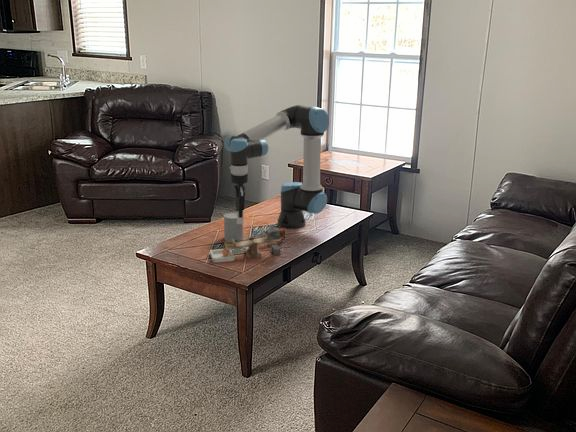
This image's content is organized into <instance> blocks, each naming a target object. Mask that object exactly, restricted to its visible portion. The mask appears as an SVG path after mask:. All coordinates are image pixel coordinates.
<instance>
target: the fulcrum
mask: <svg viewBox="0 0 576 432" xmlns="http://www.w3.org/2000/svg"><path fill="white" fill-rule="evenodd" d="M251 239H255V237H254V236H252V237H248V240H251ZM244 253H245V254H246V256H247V257H248V259H256V258H257V259H258V258H262V253H261V252H260V249H259V248H258V245H257V242H256V243H252V246H249V247H248V248H245V249H244Z"/></svg>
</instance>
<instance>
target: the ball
mask: <svg viewBox="0 0 576 432" xmlns="http://www.w3.org/2000/svg"><path fill="white" fill-rule="evenodd" d="M222 249H223V250H222V255H223V256H228V255H229V250H226V248H222Z"/></svg>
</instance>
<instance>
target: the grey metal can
mask: <svg viewBox="0 0 576 432" xmlns="http://www.w3.org/2000/svg"><path fill="white" fill-rule="evenodd" d="M223 229H224V230H223V231H224V232H223V234H224V239H223V240H225V242H228V241H232V239H234V241H235V243H236V242H242V241H244V223H243V224H237V212H233V211H232V212H227V213H225V214H223Z"/></svg>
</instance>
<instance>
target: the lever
mask: <svg viewBox="0 0 576 432" xmlns="http://www.w3.org/2000/svg"><path fill="white" fill-rule="evenodd" d="M278 229H279V228H277V227H273V228H266V230H267V237H266V236H265V237H260V238H254V239H251V240H249V239H248V240H241V241H238V242H235V241H234V239H232V241H224V247H225V248H224V249H226V250H231V251H233V250H236V249H237V250H238V249H242V248H249V246H252V243H256V242H257V246H259V245H265V244H269V243H271V244H272V243H277V241H278V242H281V241H282V239H281V238H280V234H279V230H278Z"/></svg>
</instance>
